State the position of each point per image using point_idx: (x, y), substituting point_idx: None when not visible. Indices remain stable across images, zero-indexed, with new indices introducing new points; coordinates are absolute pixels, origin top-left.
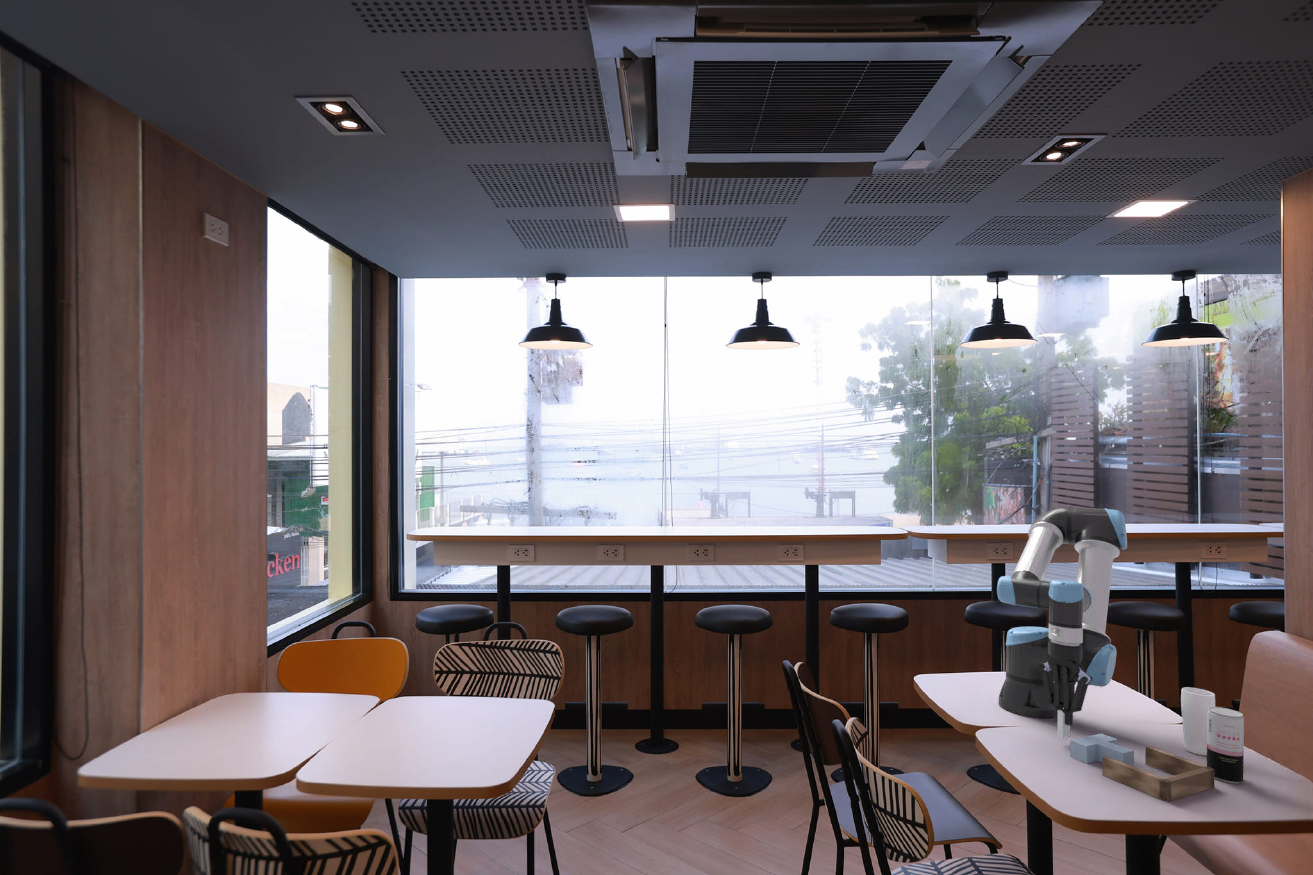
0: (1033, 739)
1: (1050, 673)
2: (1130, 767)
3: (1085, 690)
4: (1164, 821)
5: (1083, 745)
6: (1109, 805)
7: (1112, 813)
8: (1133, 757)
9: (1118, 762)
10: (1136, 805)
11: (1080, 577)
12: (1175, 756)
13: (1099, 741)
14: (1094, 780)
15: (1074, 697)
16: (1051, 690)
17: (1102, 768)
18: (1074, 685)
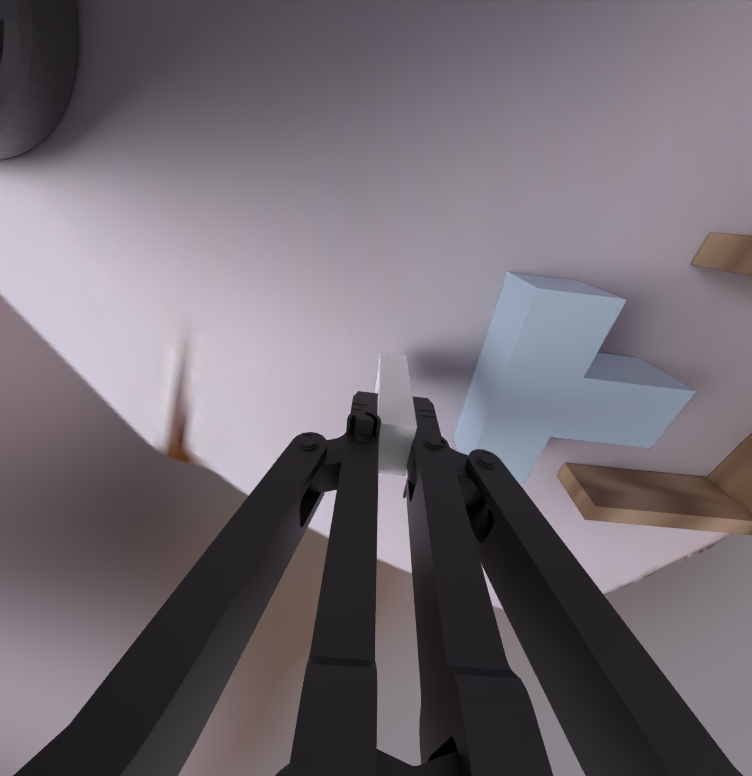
0: (313, 407)
1: (155, 755)
2: (666, 522)
3: (632, 659)
4: (686, 557)
5: None
6: (589, 569)
7: (597, 584)
8: (671, 377)
9: (632, 519)
10: (638, 542)
11: None
12: None
13: (552, 406)
14: (546, 510)
15: (502, 592)
16: (287, 548)
17: (566, 489)
18: (505, 660)
